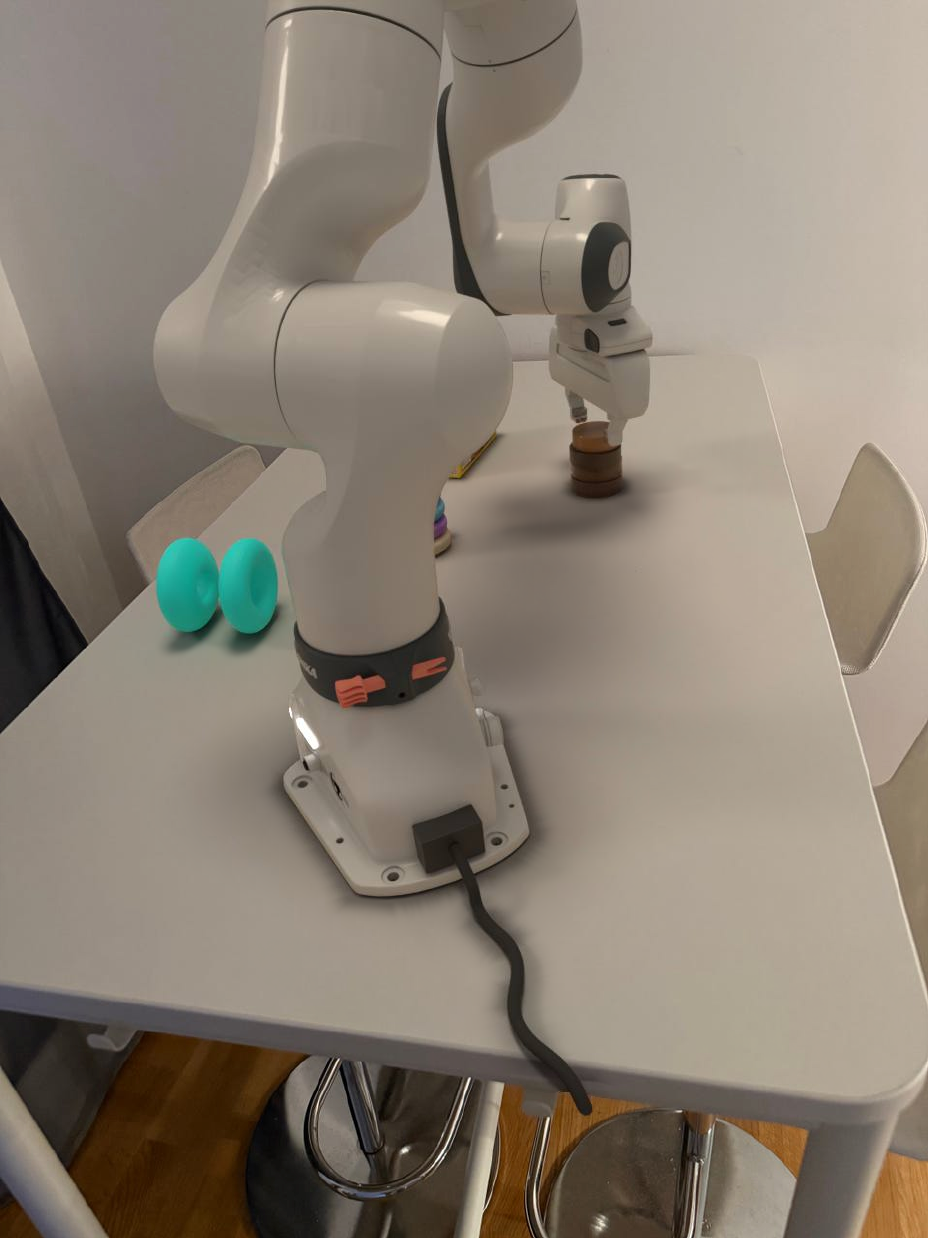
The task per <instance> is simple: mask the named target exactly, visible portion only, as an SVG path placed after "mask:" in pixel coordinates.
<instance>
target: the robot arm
mask: <svg viewBox="0 0 928 1238" xmlns="http://www.w3.org/2000/svg"><path fill="white" fill-rule="evenodd" d="M444 34H445V37H446V40H447V44H448V48H449V51H450V54H451V60H452V65H453V67H452V69H453V76H452V77H453V78H452V81H451V82H450V83H449V84H448V85H446V86H445V88H443V90H442V92H441V94H440V98H439V91H440V90H439V89H440V79H441V71H442V58H443V46H444ZM262 51H263V52H262V53H263V54H262V65H261V76H260V88H259V96H258V97H259V98H258V107H257V116H256V126H255V134H254V140H253V141H254V142H253V149H252V156H251V160H250V164H249V170H248V174H247V178H246V181H245V185H244V187H243V190H242V195H241V197H240V199H239V202H238V204H237V207H236V209H235V212H234V214H233V215H232V216H233V217H232V218H231V221H230V223H229V226H228V228H227V229H226V232H225V234H224V236H223V238H222V240H221V242H220V244H219V246H218V248H217V249H216V251H215V253H214V255H213V256H212V258H211V259H210V261H208V262H209V263H208V264H207V265H206V267H205V268H204V270H203V271H202V272H201V273H200V274H199V276H198V277H197V278H196V279H195V280H194V281H193V282H192V283H191V284H190V286H188V287H187V288H186V289H185V290H184V291H183V292H182V293H180V294H179V295H178V296H177V297H175V298H174V299H173V300H172V301H171V302H170V303H169V304H168V306H167V307H166V308H165V310H164V311H163V313H162V316H160V319H159V320H158V324H157V328H156V330H155V335H154V341H153V347H152V353H153V354H152V358H153V359H152V360H153V368H154V375H155V378H156V382H157V384H158V385H157V386H158V388H159V391H160V393H161V395H162V397H163V399H164V400H165V402H166V404H167V405H168V407H169V408H170V410H172V412H174V414H175V415H176V416H177V417H178V418H180V419H181V420H183V421H184V422H186V423H187V424H190V425H191V426H192V425H193V426H195V427H196V428H199V429H202V430H205V431H207V432H210V433H212V434H214V435H217V436H220V437H224V438H226V439H229V440H232V441H234V442H238V443H241V444H249V445H257V446H267V447H274V448H275V447H277V448H284V449H292V450H293V449H295V450H300V451H301V450H303V451H311V452H314V453H317V454H318V455H319V457H320V459H321V461H322V463H323V466H324V472H325V490H324V491H321V492H320V493H318V494H316V495H315V496H313V497H312V498H309V500H307V501H305V502H304V503H303V504H302V505H301V506H300V507H299V508H298V509H297V510H296V511H295V512H294V513H293V515H292V516H291V518H290V520H289V521H288V522H287V523H288V524H287V525H286V528H285V529H284V533H283V536H282V539H281V545H280V553H281V558H282V563H283V567H284V571H285V575H286V576H285V577H286V580H287V585H288V590H289V594H290V599H291V602H292V606H293V607H292V608H293V610H294V616H295V621H294V625H293V636H294V641H293V642H294V644H293V645H294V651H295V655H296V658H297V660H298V662H299V667H300V671H301V673H302V675H301V677H300V679H299V681H298V683H297V685H296V686H295V687H294V689H293V690H292V692H291V694H290V695H289V697H288V703H289V714H290V717H291V720H292V724H293V729H294V733H295V738H296V742H297V743H296V744H297V748H298V753H299V759H297V760H296V761H295V762H294V763H293V764H292V765H291V766H290V767H288V768H287V770H286V771H285V772H284V774H283V776H282V780H283V789H284V790H285V792H286V794H287V795H288V797H289V798H290V800H291V801H292V803H293V804H294V806H295V807H296V808H297V810H298V811H299V813H300V814H301V816H302V817H303V819H304V820H305V821H306V823H307V825H308V826H309V828H310V829H311V831H312V833H314V835H315V836H316V838H317V839H318V841H319V842H320V844H321V845H322V847H323V849H324V850H325V851H326V853H327V855H329V857H330V858H331V860H332V862H333V863H334V865H335V866H336V868H337V870H338V871H339V872H340V874H341V875H342V877H343V878H344V879H345V881H346V882H347V884H348V885H349V887H350V888H351V889H352V890H353V891H354V893H356V894H358V895H362V896H368V897H369V896H370V897H394V896H403V895H409V894H414V893H419V892H424V891H428V890H431V889H435V888H438V887H441V886H445V885H448V884H451V883H454V882H457V881H459V880H461V879H462V881H463V883H464V886H465V889H466V891H467V896H468V899H469V900H468V901H469V904H470V907H471V910H472V912H473V914H474V916H475V918H476V920H477V921H478V923H479V924H480V925H481V926H482V928H483V929H484V930H485V931H486V933H488V935H489V936H491V937H492V938H493V939H494V940H495V941H497V942H498V944H500V945H501V946H502V948H503V949H504V950H505V952H506V954H507V955H508V958H509V962H510V979H509V984H508V989H507V990H508V991H507V997H506V1000H507V1001H506V1007H507V1008H506V1009H507V1015H508V1019H509V1022H510V1025H511V1027H512V1029H513V1031H514V1033H515V1035H516V1037H517V1038H518V1040H519V1041H520V1042H521V1044H522V1045H523V1046H524V1047H525V1048H526V1049H527V1050H528V1052H530V1053H531V1054H532V1055H533V1056H534V1057H536V1058H537V1059H538V1060H539V1061H541V1062H542V1063H543V1064H544V1065H545V1066H547V1067H548V1068H549V1069H550V1070H551V1071H552V1072H553V1073H554V1074H555V1075H556V1076H557V1077H558V1078H559V1079H560V1080H561V1082H562V1083H563V1085H564V1087H566V1089H567V1091H568V1092H569V1095H570V1096H571V1098H572V1101H573V1103H574V1105H575V1107H576V1109H577V1111H578V1112H579V1113H580V1114H581V1115H582V1116H585V1117H586V1116H590V1115H592V1113H593V1111H594V1110H593V1104H592V1102H591V1100H590V1097H589V1095H588V1093H587V1091H586V1089H585V1087H584V1085H583V1083H582V1082H581V1080H580V1079H579V1077H578V1075H577V1074H576V1072H575V1071H574V1070H573V1068H572V1067H571V1066H570V1065H569V1064H568V1063H567V1062H566V1061H565V1060H564V1059H563V1058H562V1057H561V1056H560V1055H559V1054H558V1053H556V1052H555V1051H554V1050H553V1049H552V1048H550V1047H549V1045H546V1043H544V1042H543V1041H542V1040H540V1039H539V1038H538V1037H537V1036H536V1035H535V1034H534V1032H533V1031H532V1030H531V1029H530V1028H529V1027H528V1025H527V1024H526V1021H525V1019H524V1015H523V1013H522V1012H523V1011H522V992H523V987H524V980H525V963H524V958H523V954H522V952H521V950H520V948H519V945H518V944H517V942H516V941H515V939H514V938H513V937H512V936H511V935H510V934H509V933H508V932H507V931H506V930H505V929H504V928H503V927H502V926H500V925H499V924H498V923H497V922H496V921H495V920H494V919H493V918H492V917H491V915H490V914H489V912H488V911H487V909H486V908H485V905H484V903H483V900H482V899H483V898H482V895H481V890H480V886H479V884H478V881H477V878H476V876H475V874H476V873H479V872H481V871H484V870H487V869H488V868H490V867H492V866H493V865H496V864H497V863H499V862H501V861H503V860H504V859H505V858H507V857H508V856H509V855H511V854H512V853H514V852H515V851H516V850H517V849H518V848H519V847H521V845H522V844H523V843H524V842H525V841H526V840H527V838H529V835H530V828H529V827H530V826H529V822H528V819H527V815H526V813H525V809H524V805H523V802H522V799H521V796H520V793H519V790H518V786H517V783H516V780H515V776H514V774H513V771H512V767H511V765H510V761H509V758H508V754H507V752H506V749H505V745H504V732H503V727H502V723H501V720H500V717H499V716H497V715H494V714H493V712H490V711H488V710H484V709H483V707H477V708H476V706H475V705H476V704H475V702H474V699H473V698H474V697H478V696H481V695H483V689H482V683H481V680H480V678H473V679H469V678H468V677H467V673H466V670H465V660H464V651H463V650H464V649H463V648H461V647H459V646H458V645H456V644H454V642H453V638H452V636H453V633H452V627H451V623H450V620H449V616H448V614H447V611H446V606H445V604H444V603H445V602H444V601H443V599H442V598H441V597H440V596H439V595H440V594H439V587H438V579H437V578H438V577H437V567H436V565H437V564H436V555H435V549H434V519H435V513H436V507H437V504H438V500H439V497H440V498H441V496H440V494H441V495H442V492H443V489H444V487H445V485H446V484H447V481H448V480H449V477H450V475H451V474H452V472H453V471H454V470H455V469H456V468H457V467H458V466H459V465H460V464H461V463H462V462H463V461H464V460H465V459H466V458H468V457H469V456H470V455H472V454H473V453H475V452H476V451H477V450H479V449H480V448H481V447H482V446H483V445H484V444H485V443H486V442H487V441H488V440H489V439H490V437H491V436H492V435H493V434H494V432H495V431H496V432H497V429H498V428H499V426H500V424H501V422H503V419H504V417H505V415H506V413H507V410H508V408H509V404H510V400H511V398H512V392H513V386H514V361H513V355H512V351H511V346H510V343H509V340H508V337H507V336H506V333H505V330H504V328H503V326H502V324H501V322H500V320H499V319H498V318H497V317H505V316H507V317H508V316H512V315H528V316H529V315H530V316H531V315H532V316H533V315H534V316H536V315H537V316H539V315H540V316H554V325H553V326H552V327H551V328H550V330H549V331H550V332H549V340H548V371H549V375H550V378H551V380H553V381H554V382H555V383H557V384H559V385H560V386H562V387H564V395H565V397H566V400H567V404H568V407H569V415H570V420H571V421H572V422H574V423H575V424H582V423H586V422H588V408H587V407H586V406H585V401H584V400H586V401H587V402H588V403H590V404H592V405H594V406H595V407H597V408H599V409H600V410H602V411H603V412H605V413H606V419H607V420H608V422H609V425H608V429H606V430H604V436H605V438H604V441H605V442H606V443H607V444H609V445H610V446H617V445H620V444H621V445H622V443H623V440H624V439H623V438H624V437H623V431H624V430H625V427H626V425H627V423H628V420H631V419H636V418H640V417H642V416H644V415H645V413H646V412H647V410H648V408H649V403H650V391H651V384H650V383H651V364H650V363H651V361H650V357H649V354H648V352H647V350H646V349H649V348H651V347H652V346H653V330H652V328H651V327H650V326H649V325H648V324H647V323H646V322H645V321H644V320H643V318H642V317H641V316H640V315H639V313H638V311H637V310H636V308H635V306H634V305H632V288H631V284H630V279H631V273H632V272H631V271H632V255H633V251H632V250H633V248H632V247H633V246H632V245H633V244H632V243H633V242H632V241H633V237H632V220H631V209H630V200H629V194H628V189H627V184H626V181H625V179H623V178H622V177H620V176H619V175H616V174H613V173H612V174H611V173H603V174H599V173H587V174H586V173H585V174H584V173H583V174H575V175H574V174H573V175H568V176H565V177H564V178H562V179H560V180H559V181H558V184H557V188H556V194H555V195H556V196H555V206H554V219H548V220H547V219H546V220H541V219H540V220H511V219H508V218H504V217H502V216H500V215H498V214H497V213H496V212H495V209H494V198H493V190H492V180H491V171H490V170H491V169H490V161H489V159H491V158H492V157H493V156H496V155H497V154H499V153H500V152H502V151H504V150H506V149H507V148H509V147H512V146H514V145H516V144H518V143H521V142H524V141H525V140H528V139H530V138H531V137H533V136H535V135H536V134H539V133H540V132H541V131H542V130H543V129H545V128H546V127H548V125H550V124H551V123H552V122H553V121H554V120H555V119H556V118H557V117H558V116H559V115H560V114H561V112H562V111H563V110H564V109H565V108H566V106H567V105H568V104H569V102H570V100H571V99H572V97H573V95H574V94H575V91H576V89H577V87H578V85H579V81H580V78H581V75H582V71H583V62H584V59H583V58H584V52H583V35H582V26H581V19H580V14H579V8H578V3H577V0H267V5H266V17H265V27H264V39H263V50H262ZM438 99H439V101H438ZM435 128H436V129H435ZM435 130H436V143H437V151H438V160H439V167H440V174H441V181H442V187H443V192H444V193H443V194H444V200H445V205H446V206H445V207H446V212H447V219H448V224H449V230H450V231H449V232H450V237H451V245H452V268H453V269H452V272H453V283H454V288H455V291H456V292H455V291H451V290H449V289H448V290H447V289H444V288H439V287H437V286H431V285H428V284H424V283H418V282H415V281H374V280H373V281H372V280H369V281H368V280H367V281H365V280H363V281H362V280H355V276H356V274H357V272H358V269H359V267H360V265H361V264H362V262H363V260H364V258H365V256H366V255H367V254H368V252H369V250H370V249H371V248H372V246H373V245H374V244H375V243H376V242H377V241H378V240H379V238H381V237H383V235H384V234H385V233H387V232H388V231H389V230H391V229H393V228H395V226H397V225H399V224H400V223H402V222H403V221H404V220H406V219H407V218H409V216H410V215H412V213H413V212H414V211H415V210H416V208H417V207H418V206H419V205H420V203H421V201H422V200H423V198H424V195H425V193H426V190H427V189H428V185H429V182H430V179H431V170H432V169H431V168H432V159H433V149H434V141H435Z"/></svg>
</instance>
